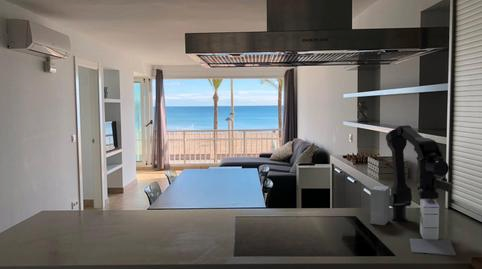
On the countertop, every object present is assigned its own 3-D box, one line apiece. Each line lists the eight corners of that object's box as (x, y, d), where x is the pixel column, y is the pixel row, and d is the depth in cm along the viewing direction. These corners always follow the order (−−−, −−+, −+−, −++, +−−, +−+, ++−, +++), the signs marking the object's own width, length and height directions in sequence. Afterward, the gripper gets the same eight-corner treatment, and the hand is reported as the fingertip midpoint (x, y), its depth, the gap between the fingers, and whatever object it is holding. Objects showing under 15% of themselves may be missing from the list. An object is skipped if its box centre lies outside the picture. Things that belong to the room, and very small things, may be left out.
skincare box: (375, 219, 190) (374, 184, 189) (391, 221, 185) (390, 185, 185) (369, 223, 183) (368, 188, 182) (385, 226, 179) (384, 189, 178)
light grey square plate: (409, 239, 160) (409, 238, 160) (450, 241, 155) (450, 240, 155) (411, 252, 146) (411, 251, 146) (456, 255, 141) (456, 254, 141)
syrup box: (438, 239, 158) (440, 204, 154) (422, 239, 159) (423, 204, 155) (435, 232, 163) (436, 198, 159) (418, 232, 164) (419, 198, 160)
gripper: (453, 176, 151) (454, 218, 152) (446, 168, 169) (447, 207, 170) (420, 176, 155) (421, 217, 156) (416, 168, 172) (417, 206, 173)
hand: (427, 211), depth 163 cm, fingers closed
